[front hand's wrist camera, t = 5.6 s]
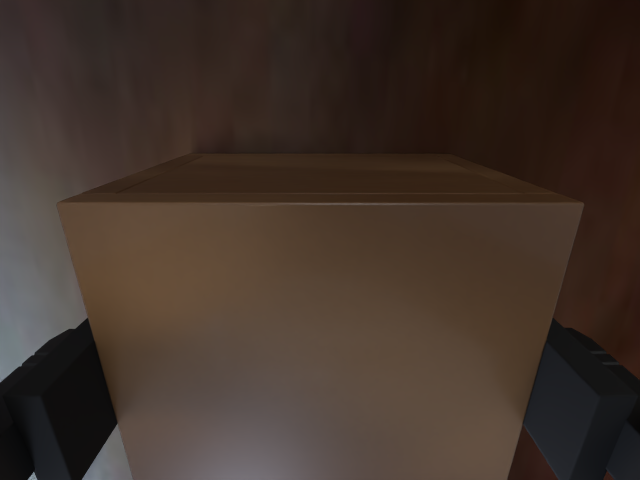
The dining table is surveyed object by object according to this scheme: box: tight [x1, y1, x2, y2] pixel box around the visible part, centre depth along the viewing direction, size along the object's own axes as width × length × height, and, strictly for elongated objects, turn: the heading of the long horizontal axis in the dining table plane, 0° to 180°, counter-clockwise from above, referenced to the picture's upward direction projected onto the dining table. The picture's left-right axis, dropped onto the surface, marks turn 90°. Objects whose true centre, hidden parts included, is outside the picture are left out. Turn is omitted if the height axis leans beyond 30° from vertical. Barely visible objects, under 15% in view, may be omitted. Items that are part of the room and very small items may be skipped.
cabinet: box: [57, 153, 584, 480], centre depth 14 cm, size 19×11×8 cm, turn 0°
